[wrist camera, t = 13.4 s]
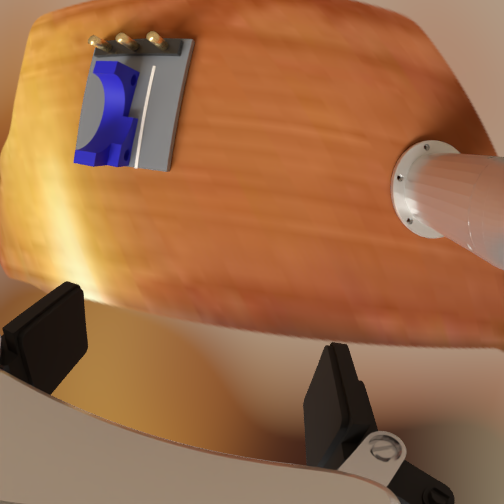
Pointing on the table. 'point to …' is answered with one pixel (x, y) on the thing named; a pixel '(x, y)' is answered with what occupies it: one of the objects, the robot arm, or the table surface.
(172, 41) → the brass pins
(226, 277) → the table surface
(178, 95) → the header board
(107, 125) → the blue curved bracket
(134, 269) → the table surface
